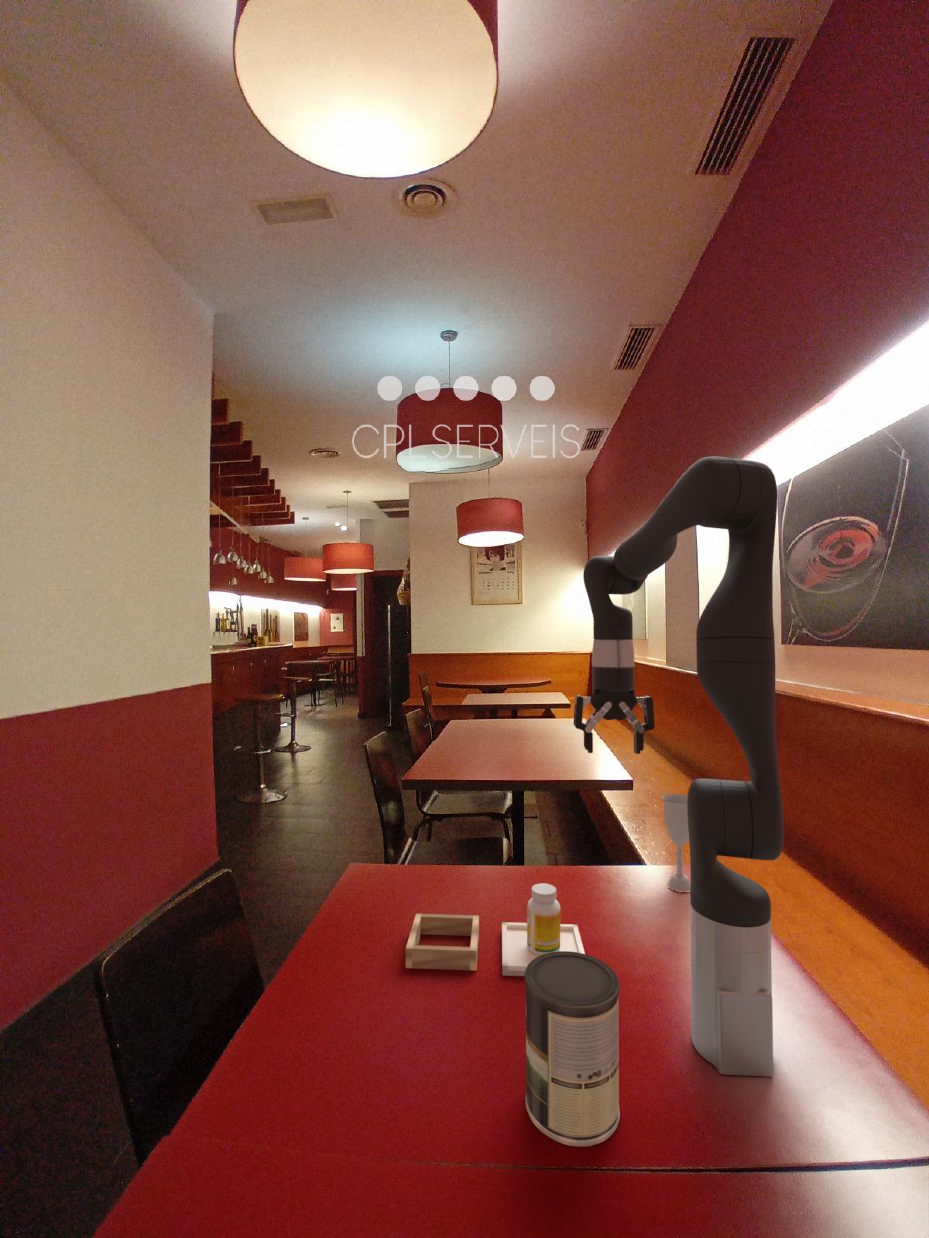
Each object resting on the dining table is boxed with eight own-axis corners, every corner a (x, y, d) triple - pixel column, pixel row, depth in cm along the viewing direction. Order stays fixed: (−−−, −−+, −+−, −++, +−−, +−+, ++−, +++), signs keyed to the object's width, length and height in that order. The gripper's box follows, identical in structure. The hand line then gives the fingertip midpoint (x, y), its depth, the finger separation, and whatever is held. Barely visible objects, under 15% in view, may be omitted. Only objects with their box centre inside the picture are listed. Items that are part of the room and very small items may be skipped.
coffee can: (506, 1111, 62) (506, 980, 62) (555, 1057, 70) (554, 940, 70) (593, 1168, 55) (592, 1020, 56) (636, 1100, 63) (635, 972, 64)
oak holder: (476, 970, 88) (476, 950, 88) (405, 967, 88) (405, 948, 88) (478, 933, 99) (478, 915, 99) (416, 930, 99) (416, 913, 99)
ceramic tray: (588, 978, 86) (588, 968, 86) (502, 975, 86) (502, 965, 86) (577, 933, 99) (577, 924, 99) (502, 930, 99) (502, 922, 99)
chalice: (703, 895, 113) (702, 804, 113) (669, 895, 113) (668, 803, 114) (689, 879, 120) (689, 793, 121) (657, 879, 120) (656, 793, 121)
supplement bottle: (520, 946, 93) (520, 887, 93) (542, 935, 96) (542, 878, 97) (544, 961, 89) (544, 899, 89) (567, 949, 92) (567, 889, 92)
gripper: (576, 665, 102) (577, 756, 101) (658, 665, 101) (658, 757, 100) (571, 663, 109) (571, 748, 109) (647, 663, 108) (647, 749, 108)
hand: (613, 752), depth 104 cm, fingers open, 8 cm apart
